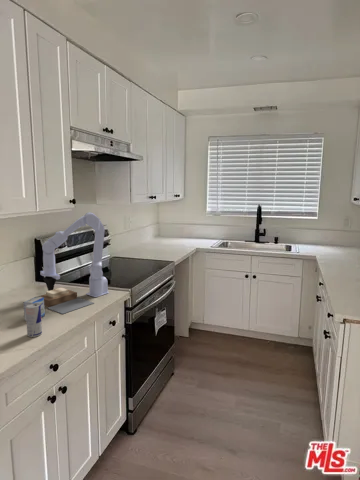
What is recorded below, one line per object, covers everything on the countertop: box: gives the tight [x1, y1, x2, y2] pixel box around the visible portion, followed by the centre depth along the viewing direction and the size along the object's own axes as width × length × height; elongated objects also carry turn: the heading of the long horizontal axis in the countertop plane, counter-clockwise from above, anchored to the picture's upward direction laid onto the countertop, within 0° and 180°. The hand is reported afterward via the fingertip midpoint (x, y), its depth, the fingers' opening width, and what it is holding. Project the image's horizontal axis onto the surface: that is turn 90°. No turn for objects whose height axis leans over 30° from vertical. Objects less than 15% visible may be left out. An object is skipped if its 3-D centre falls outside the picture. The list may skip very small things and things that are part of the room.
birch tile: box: [45, 287, 70, 298], centre depth 167 cm, size 9×6×2 cm, turn 144°
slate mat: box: [47, 297, 95, 315], centre depth 161 cm, size 18×12×1 cm, turn 144°
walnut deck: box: [36, 289, 78, 308], centre depth 168 cm, size 16×10×4 cm, turn 144°
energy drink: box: [25, 303, 43, 338], centre depth 129 cm, size 5×5×12 cm
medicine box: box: [22, 296, 46, 322], centre depth 146 cm, size 8×4×9 cm, turn 164°
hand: (50, 290), depth 170 cm, fingers closed
